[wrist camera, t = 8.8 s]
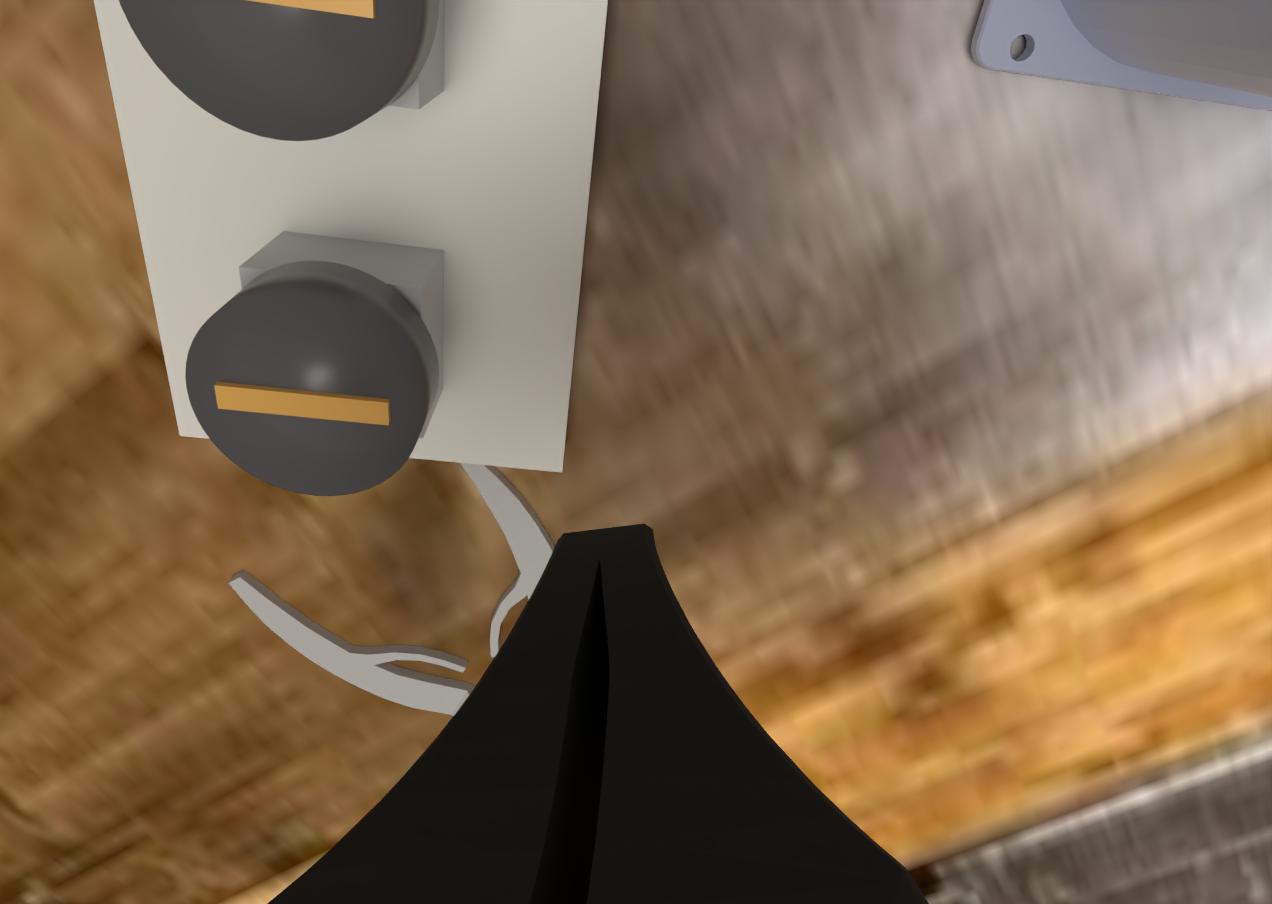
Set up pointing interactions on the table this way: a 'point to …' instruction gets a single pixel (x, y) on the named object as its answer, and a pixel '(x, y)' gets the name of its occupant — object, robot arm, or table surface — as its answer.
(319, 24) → the knob middle
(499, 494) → the pliers
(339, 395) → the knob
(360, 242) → the knob mount
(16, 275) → the table surface
